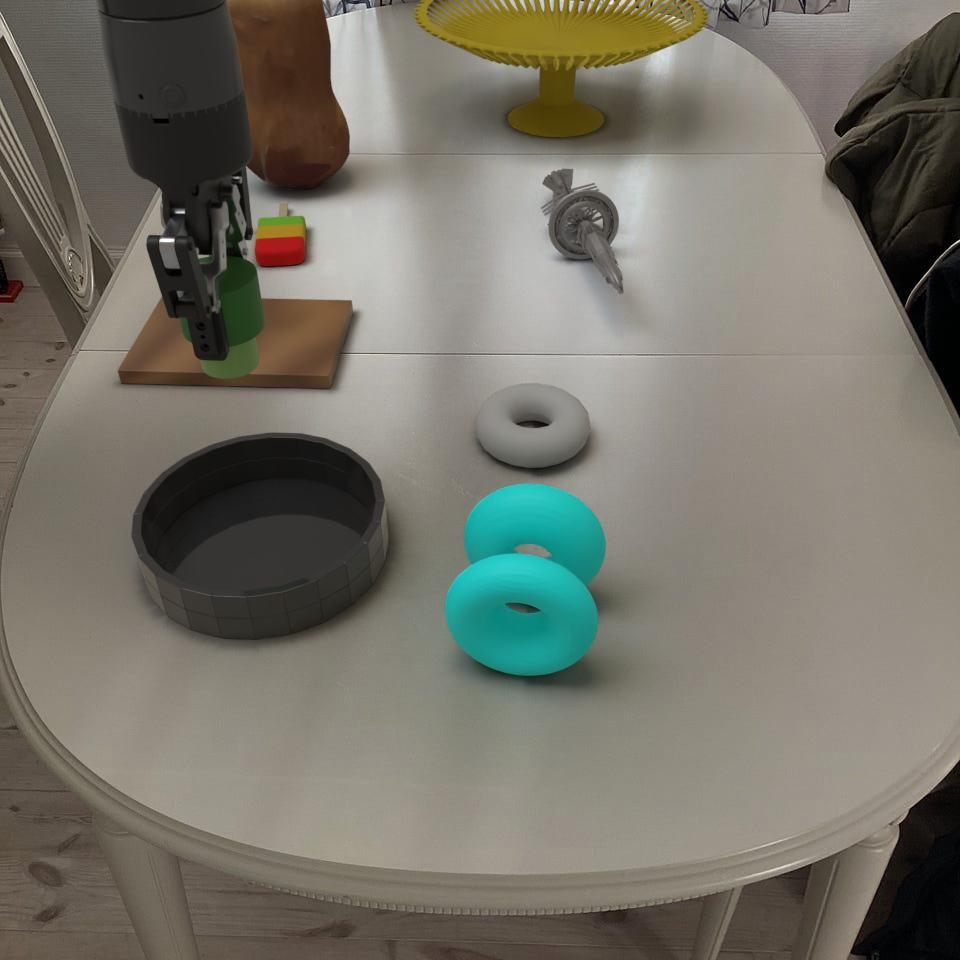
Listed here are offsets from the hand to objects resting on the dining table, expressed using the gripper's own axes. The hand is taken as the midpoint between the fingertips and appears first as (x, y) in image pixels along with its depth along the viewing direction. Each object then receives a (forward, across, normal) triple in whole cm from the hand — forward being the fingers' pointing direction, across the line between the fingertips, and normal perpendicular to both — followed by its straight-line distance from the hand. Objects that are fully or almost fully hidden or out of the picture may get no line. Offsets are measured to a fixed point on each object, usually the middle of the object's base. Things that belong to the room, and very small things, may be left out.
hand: (225, 332), depth 70 cm
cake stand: (+17, -88, +23) cm, 93 cm away
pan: (+17, +4, +2) cm, 18 cm away
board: (+17, -25, -8) cm, 31 cm away
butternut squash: (+17, -64, -10) cm, 67 cm away
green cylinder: (+2, 0, 0) cm, 2 cm away
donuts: (+17, +11, +22) cm, 30 cm away
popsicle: (+17, -49, -9) cm, 53 cm away
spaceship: (+17, -45, +26) cm, 55 cm away
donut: (+17, -11, +21) cm, 30 cm away
